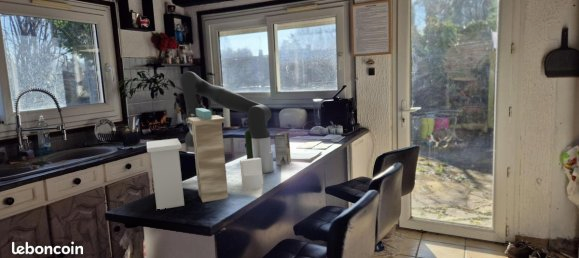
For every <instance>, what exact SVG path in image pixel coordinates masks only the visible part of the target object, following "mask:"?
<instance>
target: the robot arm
mask: <svg viewBox="0 0 579 258" xmlns="http://www.w3.org/2000/svg"><path fill="white" fill-rule="evenodd" d="M180 85H181V90H182V94H183V97H184V102H185V108H186V109H185V110H186V114H183V113H182V122H183V126H186V125H187V128H188V129H189V131H187V133H186V135H185V138H184V142H185V143H184V144H185V145H186V147H188V148H194V141H193V131H192V124H191V123H190V122H188V118H192V117H198V116H196V108H200V105H199V102H198V98H197V95H199V96H202V97H205V98H207V99H208V100H210V101H212V102H213V103H214V104H216V105H218V106H220V107H223V108H225V109H228V110H231V111H236V112H238V113H239V112H240V113H243V114H246V115H247V118H248V124H249V127H248V129H249V131H250V134H251V137H252V149H253V158H261V165H262V174H265V173H266V174H267V173H271V172H274V171H275V166H274V156H273V155H274V153H273V151H272V143H271V132H270V130H268V129H267V122H268V121H270V119H271V118H272V111H271V108H269V107H268V106H267V105H265V104H263V103H259V102H256V101H253V100H250V99H249V98H246V97H244V96H243V95H241V94H238V93H237V92H234V91H232V90H230V89H228V88H226V87H224V86H220V85H214V84H211V83H209V82H208V81H206V80H204V79H202V78H201V77H200V76H199V75H197V73H195V72H193V71H191V70H190V71H189V70H188V71H185V72H182V74H181V76H180ZM208 110H210V111H211V113H212V116H213V115H217V114H216V111H213V108H211V107H208Z"/></svg>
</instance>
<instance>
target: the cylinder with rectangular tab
mask: <svg viewBox="0 0 579 258" xmlns="http://www.w3.org/2000/svg"><path fill="white" fill-rule="evenodd" d="M239 163H240V175H241V186H242V189H243V190H258V189H261V188H263V186H264V181H263V178H264V177H263V173H262V165H261V158H252V159H247V158H246V159H240V160H239Z"/></svg>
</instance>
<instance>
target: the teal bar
mask: <svg viewBox="0 0 579 258" xmlns="http://www.w3.org/2000/svg"><path fill="white" fill-rule="evenodd" d="M196 116H198V117H200V118H202V119H204V120H205V119H212V113H211V111H210V110H209V109H206V108H203V107H199V108H196Z"/></svg>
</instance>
